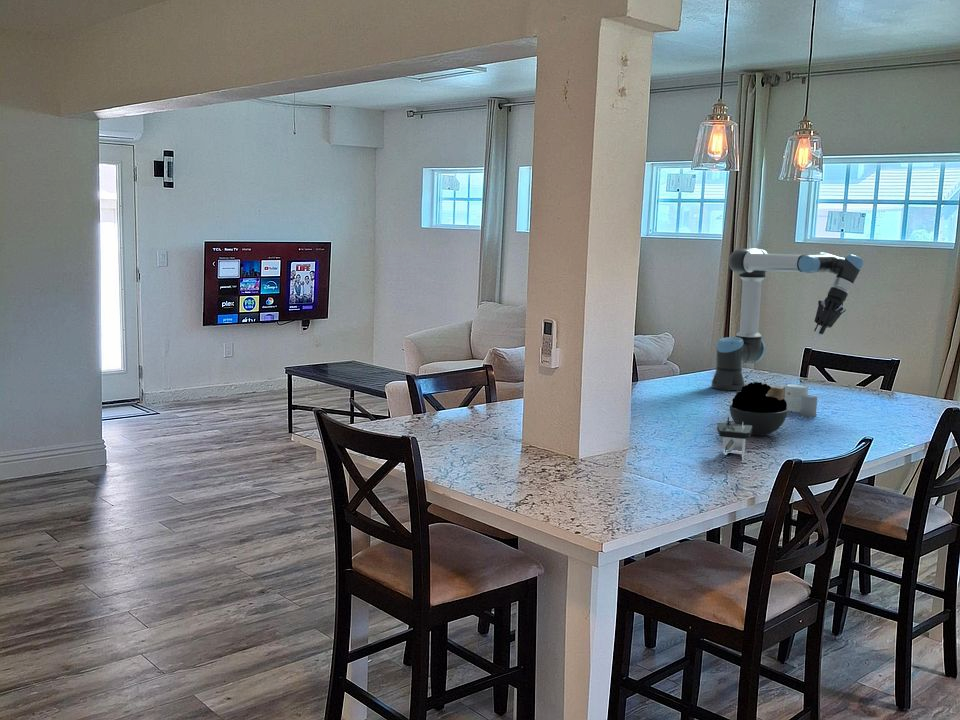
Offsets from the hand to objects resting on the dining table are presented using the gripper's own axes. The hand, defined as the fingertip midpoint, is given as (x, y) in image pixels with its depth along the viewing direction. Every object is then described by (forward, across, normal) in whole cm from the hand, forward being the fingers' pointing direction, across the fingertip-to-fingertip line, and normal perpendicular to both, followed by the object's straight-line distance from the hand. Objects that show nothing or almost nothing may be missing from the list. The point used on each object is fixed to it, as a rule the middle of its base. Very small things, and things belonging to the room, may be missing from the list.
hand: (814, 340), depth 386 cm
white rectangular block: (+31, -24, +14) cm, 42 cm away
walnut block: (+33, -2, +7) cm, 33 cm away
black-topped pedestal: (+57, -56, +85) cm, 117 cm away
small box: (+32, -14, +10) cm, 36 cm away
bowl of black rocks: (+47, -37, +55) cm, 81 cm away
